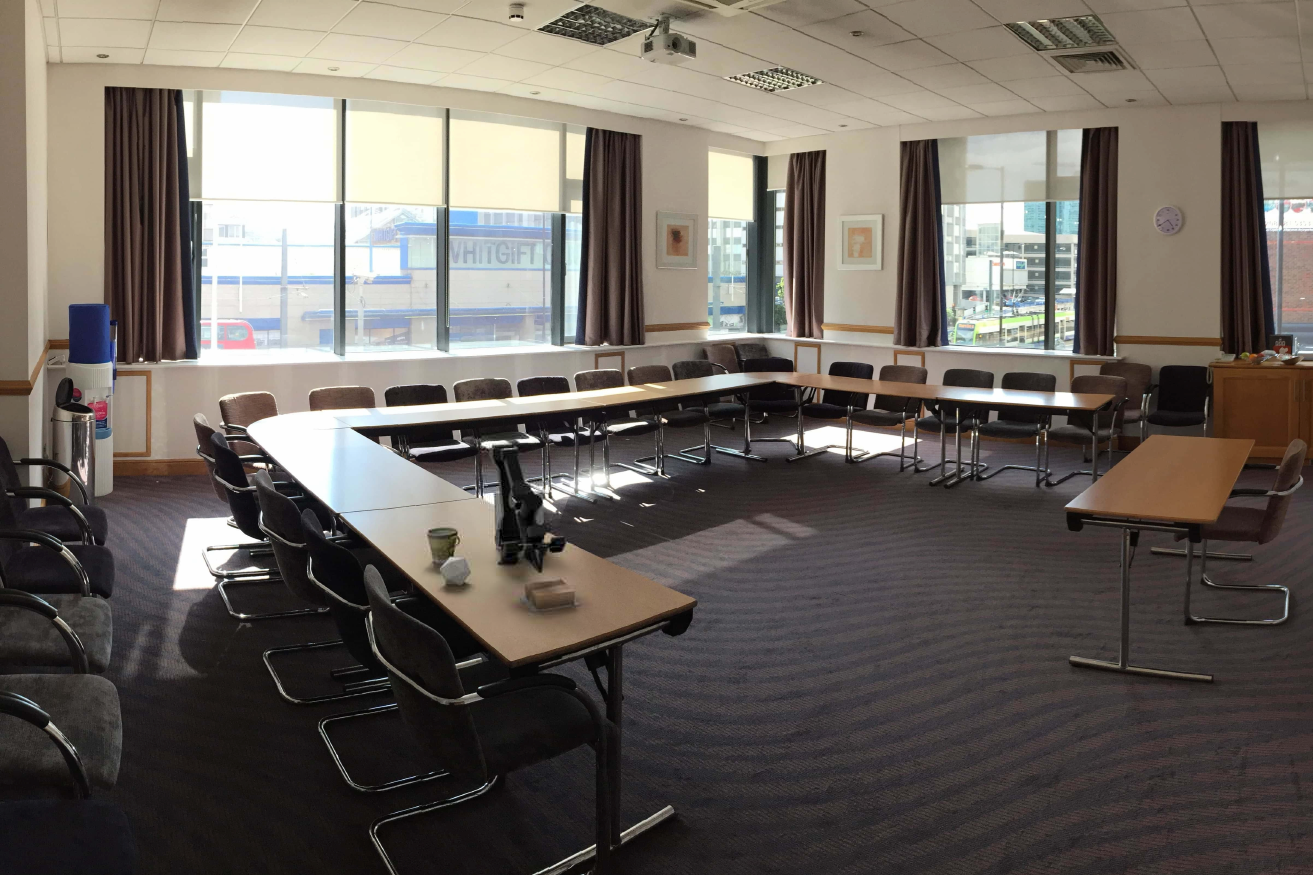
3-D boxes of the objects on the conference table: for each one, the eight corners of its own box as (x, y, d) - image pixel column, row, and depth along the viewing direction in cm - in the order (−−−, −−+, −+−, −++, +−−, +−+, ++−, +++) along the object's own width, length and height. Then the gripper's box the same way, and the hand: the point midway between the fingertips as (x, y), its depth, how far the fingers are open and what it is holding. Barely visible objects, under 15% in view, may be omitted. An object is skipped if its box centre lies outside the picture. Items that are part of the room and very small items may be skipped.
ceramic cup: (421, 561, 308) (420, 531, 306) (444, 554, 316) (443, 525, 315) (448, 568, 301) (447, 538, 299) (471, 560, 309) (470, 531, 307)
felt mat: (520, 599, 272) (520, 598, 271) (566, 592, 277) (566, 591, 277) (532, 612, 261) (532, 611, 261) (580, 605, 267) (580, 604, 267)
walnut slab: (524, 583, 272) (537, 596, 261) (560, 578, 277) (574, 590, 266) (524, 596, 273) (537, 609, 262) (560, 591, 277) (574, 604, 266)
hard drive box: (545, 546, 326) (544, 490, 322) (536, 552, 318) (535, 495, 315) (504, 543, 330) (503, 488, 327) (494, 548, 323) (493, 492, 319)
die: (475, 582, 289) (464, 554, 292) (471, 576, 281) (460, 548, 283) (450, 593, 287) (439, 565, 290) (445, 588, 279) (434, 559, 282)
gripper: (503, 516, 274) (514, 562, 266) (563, 509, 282) (576, 555, 274) (496, 535, 282) (507, 581, 274) (555, 528, 290) (568, 573, 282)
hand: (540, 572), depth 276 cm, fingers closed
